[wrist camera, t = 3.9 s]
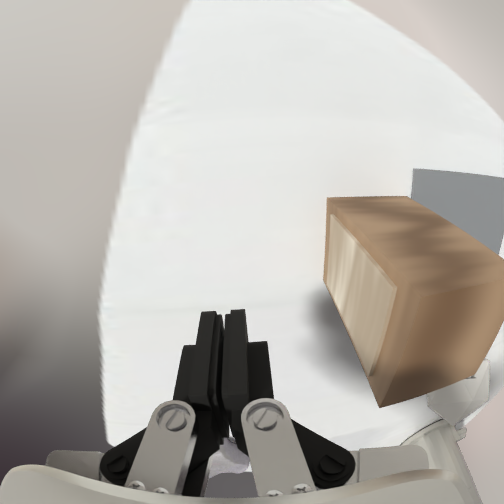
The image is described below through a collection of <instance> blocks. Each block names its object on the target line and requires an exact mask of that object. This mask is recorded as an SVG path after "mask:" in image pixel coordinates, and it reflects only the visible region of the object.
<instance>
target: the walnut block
mask: <svg viewBox="0 0 504 504" xmlns="http://www.w3.org/2000/svg"><path fill="white" fill-rule="evenodd" d="M323 280H324V283H325V285H326V287H327V289H328V291H329V293H330V295H331V297H332V299H333V302H334V304H335V306H336V308H337V310H338V312H339V315H340V317H341V319H342V321H343V323H344V326H345V328H346V330H347V332H348V335H349V337H350V339H351V341H352V344H353V346H354V348H355V351H356V353H357V355H358V358H359V360H360V362H361V365H362V367H363V369H364V372H365V374H366V377H367V379H368V381H369V384H370V386H371V389H372V391H373V394H374V396H375V399H376V401H377V404H378V406H379V408H382V407H385V406H389V405H393V404H396V403H399V402H403V401H406V400H409V399H412V398H416V397H419V396H422V395H424V394H427V393H430V392H433V391H436V390H438V389H441V388H444V387H446V386H449V385H451V384H454V383H456V382H459V381H461V380H463V379H466V378H468V377H470V376H473V375H475V374H476V372H477V370H478V369H479V367H480V365H481V364H482V362H483V360H484V358H485V356H486V355H487V353H488V351H489V349H490V347H491V345H492V344H493V342H494V340H495V338H496V336H497V334H498V332H499V330H500V327H501V325H502V323H503V321H504V259H503V258H501V257H500V256H499V255H497V254H496V253H495V252H493V251H492V250H490V249H489V248H488V247H486V246H485V245H484V244H482V243H481V242H479V241H478V240H476V239H475V238H473V237H472V236H471V235H469V234H468V233H466V232H465V231H463V230H462V229H460V228H458V227H457V226H455V225H454V224H452V223H451V222H449V221H448V220H446V219H444V218H443V217H441V216H439V215H438V214H436V213H435V212H433V211H431V210H429V209H428V208H426V207H424V206H423V205H421V204H419V203H417V202H416V201H414V200H412V199H410V198H409V197H407V196H374V197H332V198H327V214H326V242H325V261H324V277H323Z"/></svg>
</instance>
